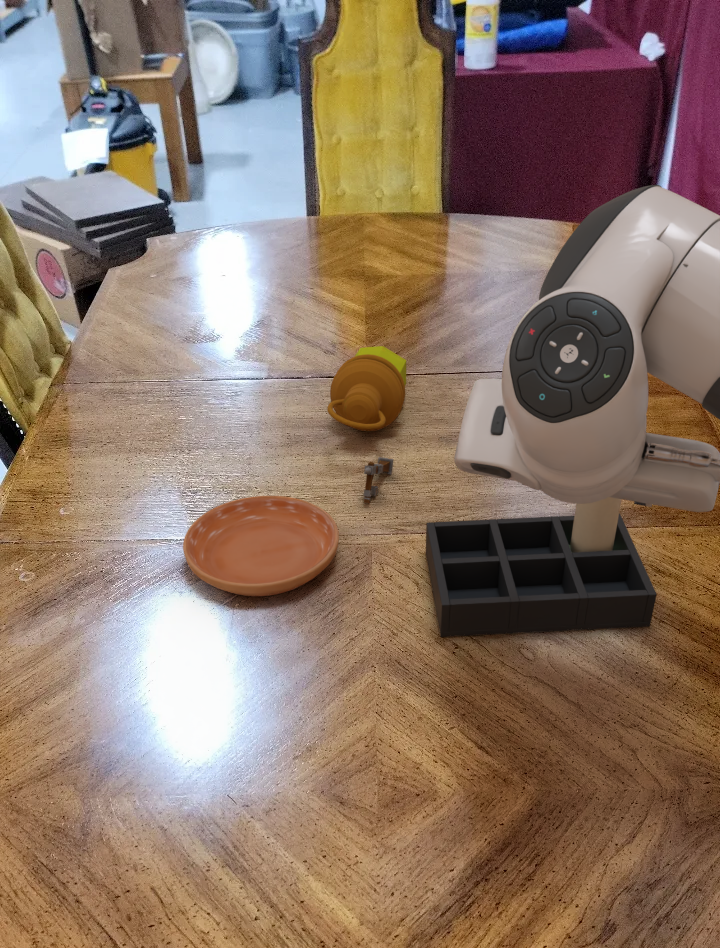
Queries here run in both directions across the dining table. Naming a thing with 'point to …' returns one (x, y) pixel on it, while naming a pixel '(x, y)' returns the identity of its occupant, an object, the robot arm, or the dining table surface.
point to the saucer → (261, 545)
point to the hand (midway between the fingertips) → (588, 486)
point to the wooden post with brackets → (382, 467)
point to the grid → (532, 578)
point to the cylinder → (595, 525)
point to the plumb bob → (369, 389)
